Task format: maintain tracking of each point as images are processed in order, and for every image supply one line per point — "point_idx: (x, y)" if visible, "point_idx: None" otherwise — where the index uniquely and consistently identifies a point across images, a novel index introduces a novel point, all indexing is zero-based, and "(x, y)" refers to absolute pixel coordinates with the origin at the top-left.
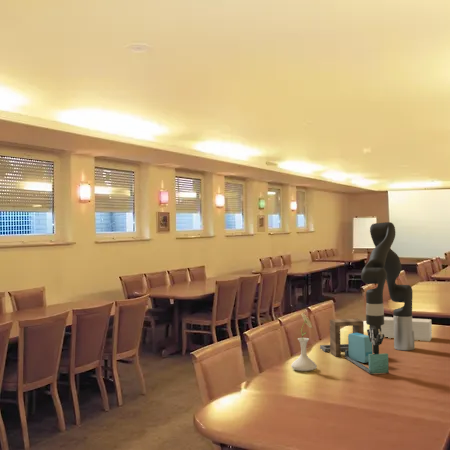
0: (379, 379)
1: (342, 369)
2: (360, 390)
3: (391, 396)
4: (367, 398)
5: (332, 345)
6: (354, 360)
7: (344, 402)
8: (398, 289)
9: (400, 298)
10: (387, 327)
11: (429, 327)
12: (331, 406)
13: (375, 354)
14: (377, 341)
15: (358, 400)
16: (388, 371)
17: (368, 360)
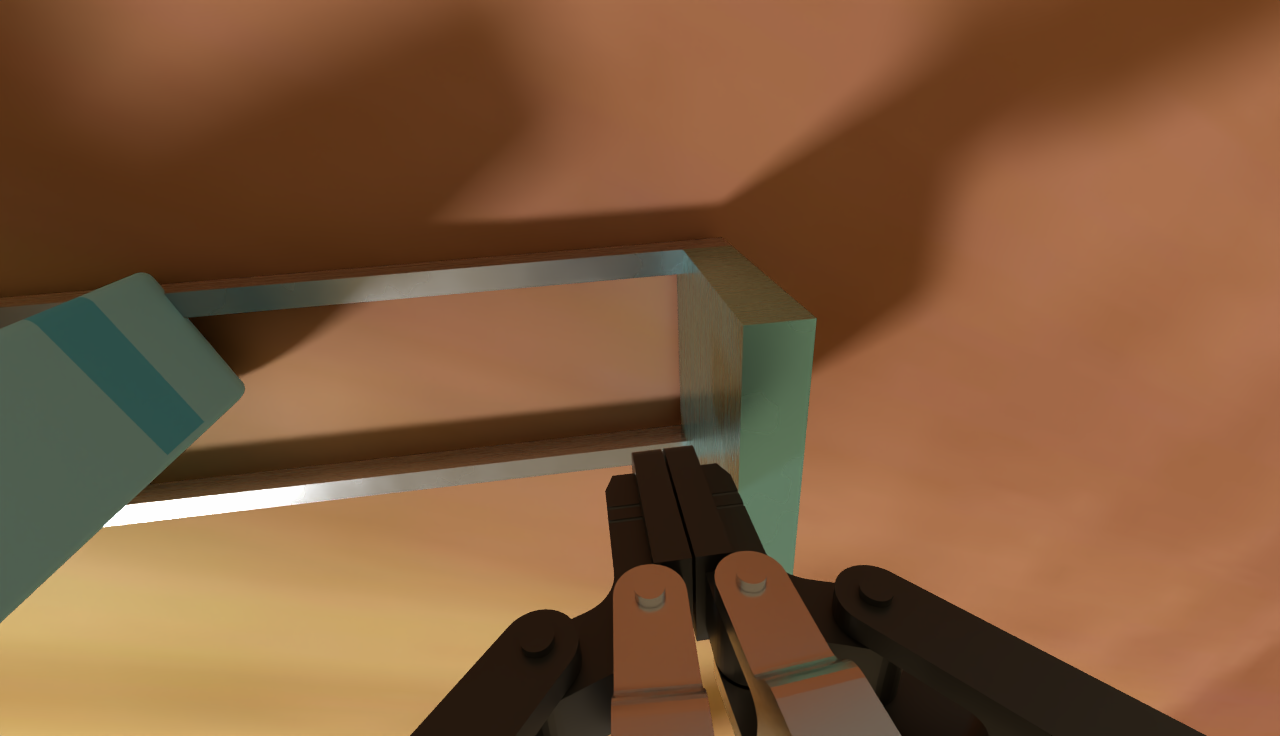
0: (876, 393)
1: (488, 604)
2: (1061, 583)
3: (1276, 439)
4: (1208, 576)
5: None
6: (227, 503)
7: (1185, 679)
8: None
9: None
10: None
11: None
12: (1193, 726)
13: (784, 521)
14: (987, 734)
15: (1204, 622)
16: (727, 242)
17: (204, 345)
